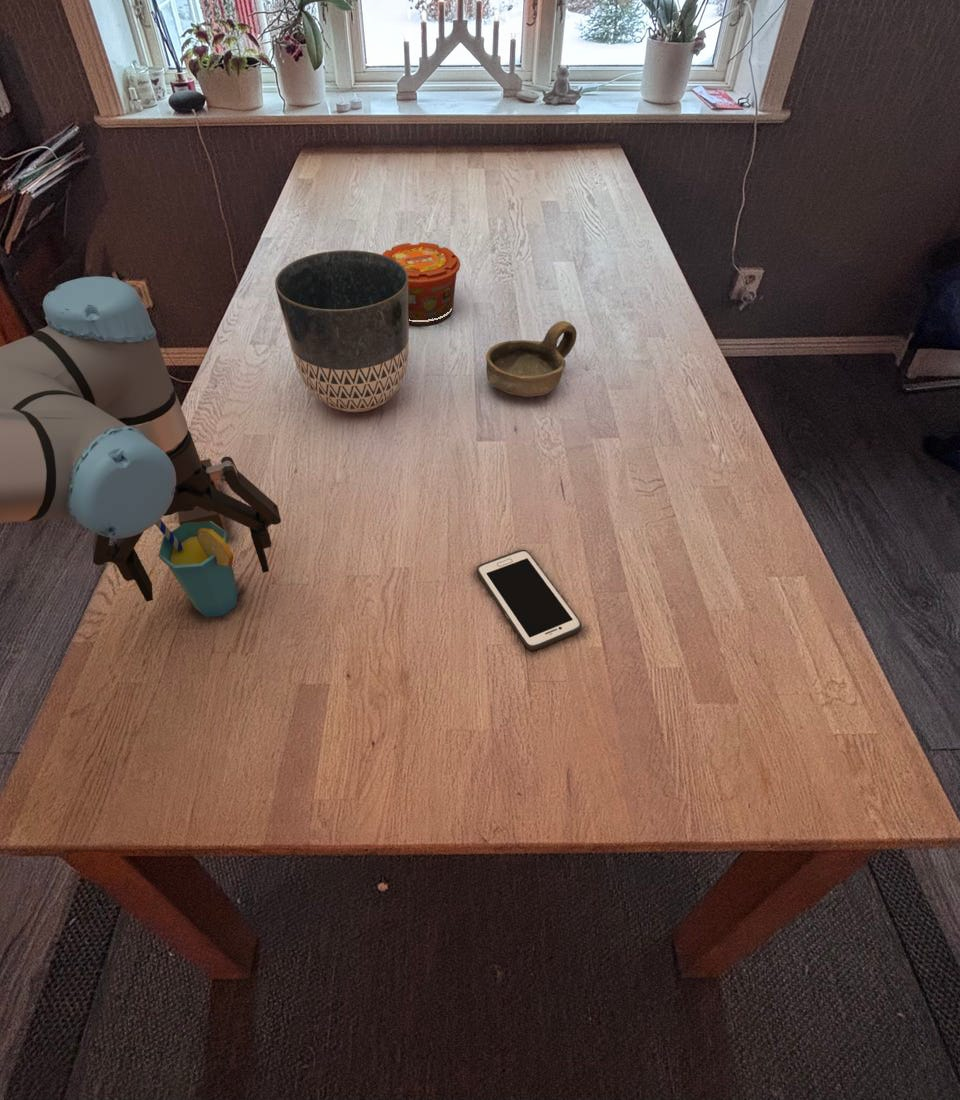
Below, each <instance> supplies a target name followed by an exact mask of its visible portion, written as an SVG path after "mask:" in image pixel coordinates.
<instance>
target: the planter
mask: <svg viewBox="0 0 960 1100" xmlns="http://www.w3.org/2000/svg"><path fill="white" fill-rule="evenodd" d="M274 289H275V292H276V295H277V300H278V303H279V307H280V311H281V315H282V319H283V322H284V327H285V330H286V334H287V338H288V342H289V345H290V348H291V352H292V356H293V359H294V363H295V366H296V369H297V371H298V373H299V375H300V377H301V380H302V381H303V383H304V385H305V387H306V388H307V389H308V390H309V392H310V393H311V394H312V395H313V396H314V397H315V398H316V399H318V401H320V402H322V403H323V404H324V405H326V406H328V407H330V408H333V409H335V410H338V411H343V412H347V413H363V412H368V411H371V410H374V409H376V408H379V407H381V406H382V405H383V404H385V403H386V402H388V401H389V400H391V398H393V396H394V395H395V394H396V393H397V392H398V390H399V389H400V387H401V385H402V384H403V381H404V379H405V376H406V372H407V368H408V363H409V353H410V352H409V351H410V349H409V347H410V344H409V343H410V342H409V341H410V325H409V280H408V273H407V271H406V269H405V268H404V267H403V266H402V265H401V264H400V263H398V262H397V261H395V260H393V259H391V258H389V257H387V256H384V255H382V254H380V253H376V252H372V251H365V250H356V249H355V250H353V249H352V250H351V249H344V250H343V249H340V250H329V251H323V252H318V253H314V254H310V255H307V256H303V257H301V258H298V259H296V260H294V261H292V262H290V263H289V264H287V265H285V266H284V267H283V268H282V269H281V270H280V271H279V272H278V274H277V275H276V277H275V280H274Z"/></svg>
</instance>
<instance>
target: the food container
mask: <svg viewBox="0 0 960 1100" xmlns="http://www.w3.org/2000/svg"><path fill="white" fill-rule="evenodd" d="M381 255H384V256H387V257H389V258H391V259H393V260H395V261H397V262H398V263H400V264H401V265H402V266H403V267H404V268H405V269H406V271H407V273H408V280H409V319H410V320H428V319H432V318H433V319H434V318H438V317H440V316H443V315H444V314H446V313H447V312H449V311H450V309H451V308H452V306H453V307H454V302H455V301H454V300H455V291H456V283H457V274H458V272H459V271H460V267H461V261H460V258H459V257H458V256H457V255H456V254H455V252H454V251H453V250H451V249H450V248H448V247H446V246H443V247H440V246H439V244H438V243H437V244H436V243H431V242H419V243H417V244H411V243H410V242H407V243H405V242H404V243H401V244H397V245H395V246H392V247H391V249H386V250H385V251H383V253H382V254H381ZM452 313H453V309H452V311H451V312H450V313H449V314H448V315H447V316H445V317H443V318H441V319H438V320H434V321H429V322H412V321H409V326H416V327H423V326H424V327H426V326H431V325H438V324H441V323H442V322H444V321H445V320H447V319H448V318H450V317H451V315H452Z"/></svg>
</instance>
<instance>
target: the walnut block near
mask: <svg viewBox="0 0 960 1100" xmlns="http://www.w3.org/2000/svg"><path fill="white" fill-rule="evenodd" d="M177 518H178V524H179V526H181V525H183V524H184V523H190V522H204V521H212V522H213V523H214V524H216V525H217V526H219V527H220V528H222V529H223V530H224V531H226V532H227V533H228V531H227V530H228V529H227V525H226V519H225V518H226V517H225V516H223V515H221V514H219V513H217V512H214V511H211V512H209V511H206V510H204V509H202V508H200V507H198V506H196V507H194V510H190V511H179V512H177Z"/></svg>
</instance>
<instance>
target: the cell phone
mask: <svg viewBox="0 0 960 1100" xmlns="http://www.w3.org/2000/svg"><path fill="white" fill-rule="evenodd" d="M476 573H477V575H478V577H479V578H480V580H481V582H482V583H483V585H484V586H485V588H486V589H487V591H488V592H489V594H490V595H491V596H492V598H493V600H494V601H495V602H496V604H497V606H498V607H499V609H500V610H501V612H502V614H503V615H504V616H506V618H507V620H508V622H509V624H510V625H511V627H512V629H513V630H514V631H515V633H516V635H517V636H518V638H519V639H520V641H521V642H522V643H523V645H524V646H525V648H527V649H528V650H529V651H536V650H539V649H542V648H545V647H546V646H548V645H551V644H553V643H556V642H558V641H561V640H563V639H565V638H568V637H571V636H572V635H575V634H577V633H579V632H580V631H581V629H582V622H581V620H580V618H579V617H578V616H577V614H576V613H575V612H574V610H573V609H572V608H571V606H570V605H569V603H568V602H567V601H566V600H565V598H564V597H563V596H562V594H561V592H559V590H558V589H557V588H556V586H555V585H554V584H553V582H552V580H551V579H550V578H549V577H548V575H547V574H546V573H545V571H544V570H543V568H541V566H540V565H539V563H538V562H537V560H536V559H535V558H534V557H533V556H532V554H531V553H530V552H529V551H528V550H527V549H519V550H516V551H512V552H510V553H508V554H505V555H502V556H499V557H497V558H493V559H491V560H488V561H485V562H483V563H481V564H479V565H478V566H477V567H476Z"/></svg>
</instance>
